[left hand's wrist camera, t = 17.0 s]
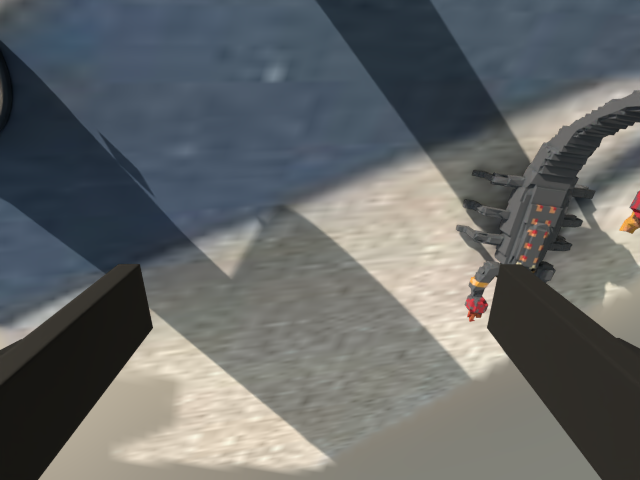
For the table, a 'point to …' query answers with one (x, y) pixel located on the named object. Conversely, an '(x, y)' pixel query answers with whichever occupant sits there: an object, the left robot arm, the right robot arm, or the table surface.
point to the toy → (546, 198)
